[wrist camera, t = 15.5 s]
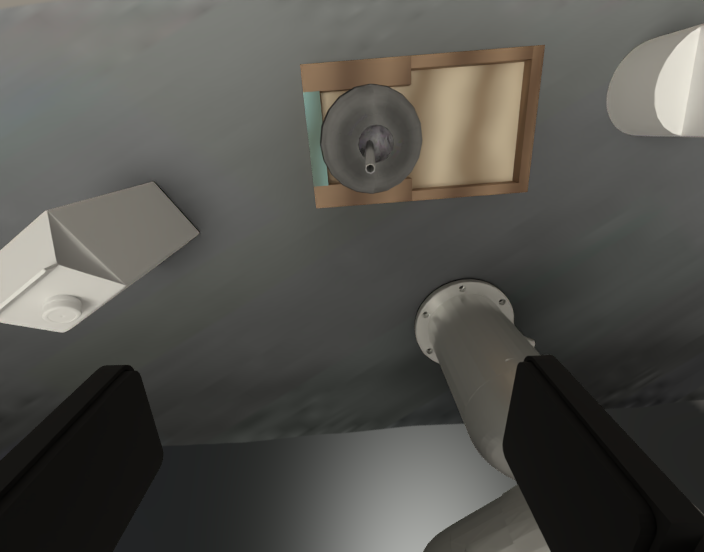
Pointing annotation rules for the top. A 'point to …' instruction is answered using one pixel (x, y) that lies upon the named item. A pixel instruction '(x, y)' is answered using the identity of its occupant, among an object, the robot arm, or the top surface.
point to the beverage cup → (371, 138)
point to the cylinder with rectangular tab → (661, 87)
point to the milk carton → (87, 255)
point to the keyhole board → (440, 120)
